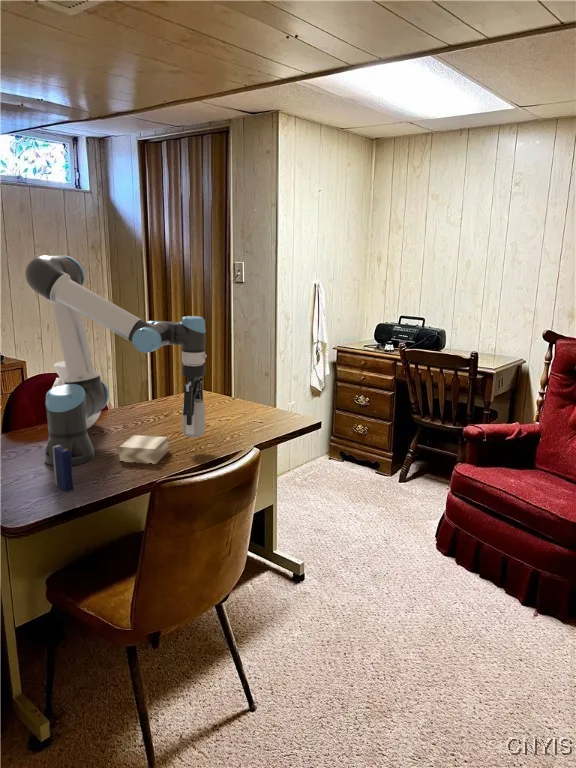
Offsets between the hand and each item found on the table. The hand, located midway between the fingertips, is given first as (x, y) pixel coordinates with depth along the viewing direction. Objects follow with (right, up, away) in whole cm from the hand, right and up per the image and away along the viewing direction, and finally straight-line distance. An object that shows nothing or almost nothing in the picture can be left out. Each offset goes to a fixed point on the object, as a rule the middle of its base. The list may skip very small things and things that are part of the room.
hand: (193, 429), depth 192 cm
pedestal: (-16, -8, -4) cm, 18 cm away
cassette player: (-32, -14, -29) cm, 46 cm away
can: (0, -2, 0) cm, 2 cm away
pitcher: (-49, -1, +26) cm, 55 cm away
